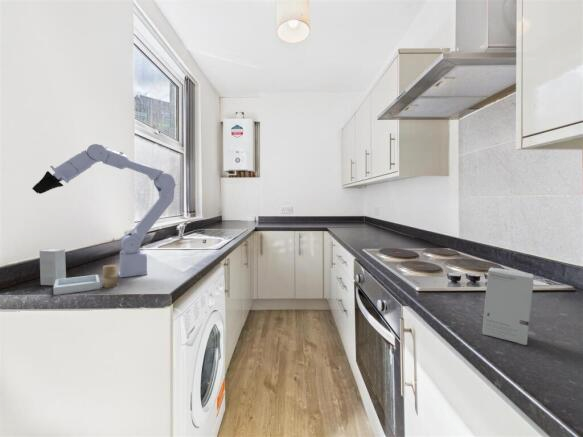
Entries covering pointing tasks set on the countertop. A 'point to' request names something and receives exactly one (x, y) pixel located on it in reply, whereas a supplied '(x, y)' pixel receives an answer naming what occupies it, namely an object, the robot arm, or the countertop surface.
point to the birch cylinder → (109, 276)
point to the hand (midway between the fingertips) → (36, 191)
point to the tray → (76, 284)
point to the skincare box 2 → (508, 305)
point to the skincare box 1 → (52, 266)
